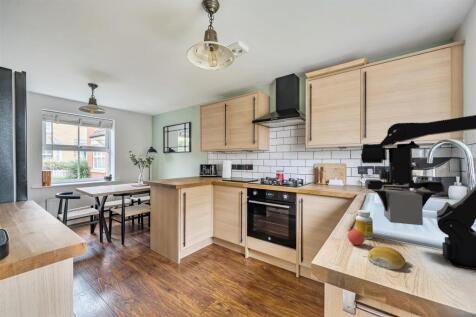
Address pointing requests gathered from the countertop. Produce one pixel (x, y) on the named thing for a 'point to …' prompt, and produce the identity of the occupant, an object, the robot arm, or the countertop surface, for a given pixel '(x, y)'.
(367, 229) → the supplement bottle
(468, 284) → the countertop surface
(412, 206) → the gray block
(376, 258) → the bread roll
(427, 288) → the countertop surface
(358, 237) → the ball
